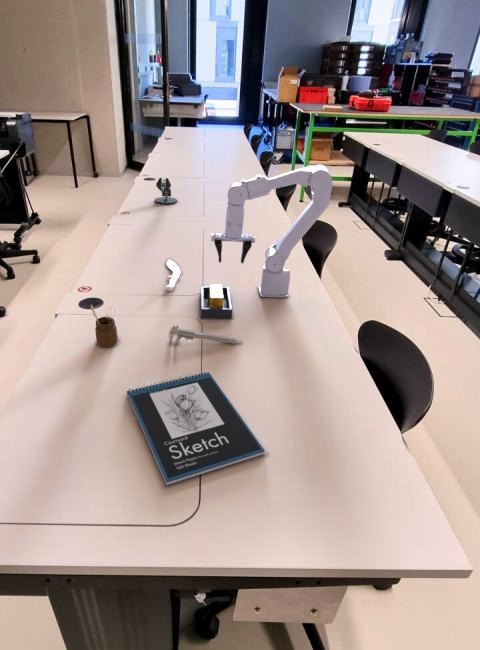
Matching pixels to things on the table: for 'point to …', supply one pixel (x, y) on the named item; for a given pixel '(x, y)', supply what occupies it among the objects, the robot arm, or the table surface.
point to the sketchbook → (192, 427)
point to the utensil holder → (105, 330)
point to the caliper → (197, 336)
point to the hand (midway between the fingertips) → (231, 261)
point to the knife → (174, 277)
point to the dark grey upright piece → (165, 192)
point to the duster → (215, 296)
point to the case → (216, 312)
